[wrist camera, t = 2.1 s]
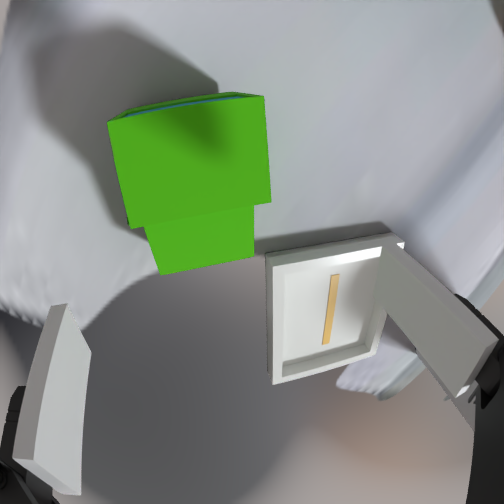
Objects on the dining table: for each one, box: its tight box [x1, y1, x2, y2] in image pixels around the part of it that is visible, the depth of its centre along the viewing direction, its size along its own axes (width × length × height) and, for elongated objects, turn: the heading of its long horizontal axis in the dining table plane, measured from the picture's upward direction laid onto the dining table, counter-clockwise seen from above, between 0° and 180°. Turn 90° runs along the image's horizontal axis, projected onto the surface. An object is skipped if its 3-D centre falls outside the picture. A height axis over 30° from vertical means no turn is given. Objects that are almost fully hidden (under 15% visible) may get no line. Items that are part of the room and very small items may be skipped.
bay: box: [265, 232, 405, 385], centre depth 37 cm, size 18×15×2 cm
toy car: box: [107, 92, 271, 275], centre depth 22 cm, size 10×13×10 cm
